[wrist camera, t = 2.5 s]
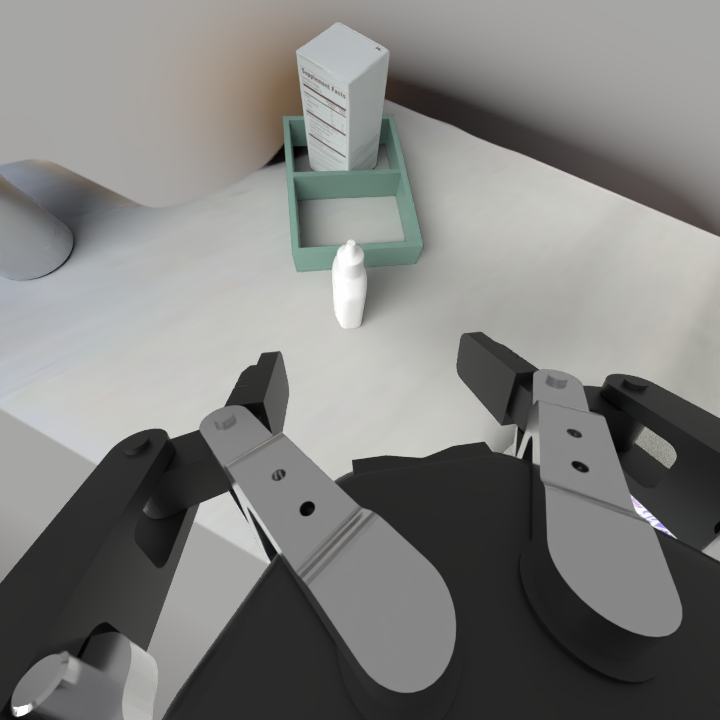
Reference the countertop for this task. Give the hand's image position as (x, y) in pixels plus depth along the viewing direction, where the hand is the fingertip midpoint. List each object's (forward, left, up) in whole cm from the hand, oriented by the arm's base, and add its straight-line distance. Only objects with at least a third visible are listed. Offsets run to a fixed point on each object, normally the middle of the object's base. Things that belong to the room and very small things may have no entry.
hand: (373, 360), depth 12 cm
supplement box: (+3, +36, -19) cm, 40 cm away
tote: (+3, +30, -19) cm, 35 cm away
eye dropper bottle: (+1, +12, -19) cm, 23 cm away
